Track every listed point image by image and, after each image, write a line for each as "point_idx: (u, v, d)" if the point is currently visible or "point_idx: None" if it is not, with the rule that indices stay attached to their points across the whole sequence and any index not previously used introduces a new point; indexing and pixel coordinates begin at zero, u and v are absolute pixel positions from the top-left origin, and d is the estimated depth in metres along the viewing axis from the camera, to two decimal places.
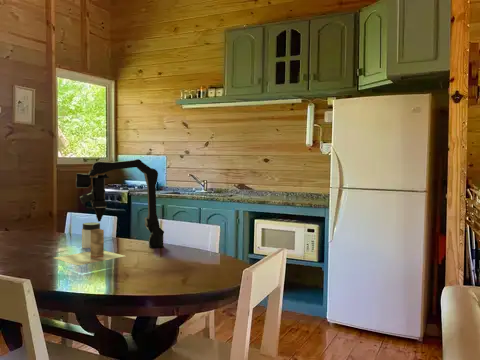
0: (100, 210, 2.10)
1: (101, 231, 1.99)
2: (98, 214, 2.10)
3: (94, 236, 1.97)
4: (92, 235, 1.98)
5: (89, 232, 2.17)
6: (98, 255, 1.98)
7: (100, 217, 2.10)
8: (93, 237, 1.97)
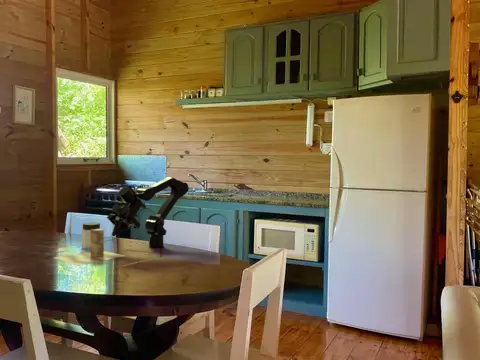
0: (122, 227, 2.08)
1: (101, 231, 1.99)
2: (118, 229, 2.06)
3: (94, 236, 1.97)
4: (92, 235, 1.98)
5: (89, 232, 2.17)
6: (98, 255, 1.98)
7: (117, 233, 2.06)
8: (93, 237, 1.97)
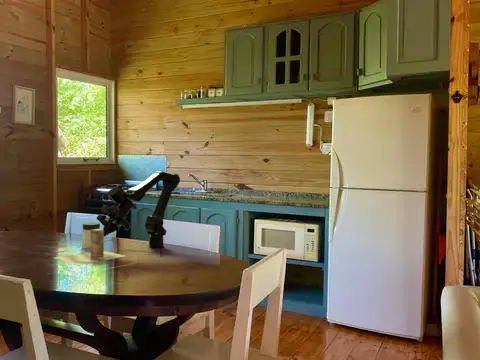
0: (111, 228, 2.03)
1: (101, 231, 1.99)
2: (107, 230, 2.02)
3: (94, 236, 1.97)
4: (92, 235, 1.98)
5: (89, 232, 2.17)
6: (98, 255, 1.98)
7: (106, 234, 2.02)
8: (93, 237, 1.97)
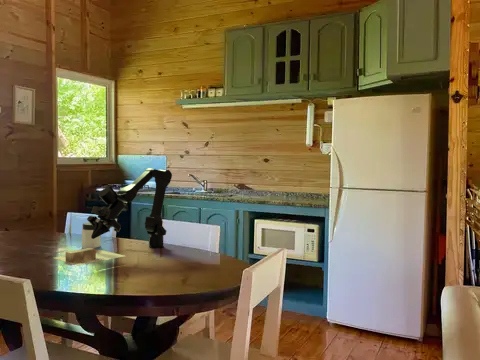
0: (102, 229, 1.99)
1: (72, 255, 1.88)
2: (98, 231, 1.98)
3: None
4: None
5: (89, 232, 2.17)
6: (93, 255, 1.96)
7: (96, 235, 1.98)
8: None
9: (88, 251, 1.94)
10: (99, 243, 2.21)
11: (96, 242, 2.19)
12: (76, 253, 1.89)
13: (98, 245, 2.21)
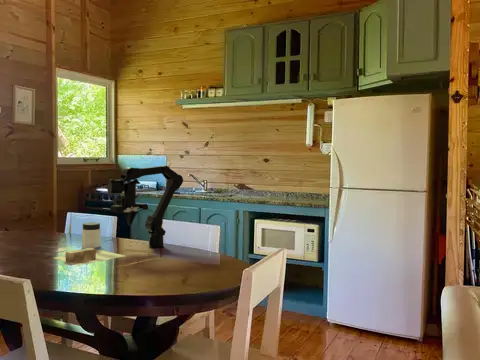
0: (127, 214, 2.16)
1: (72, 255, 1.88)
2: (126, 218, 2.16)
3: None
4: None
5: (89, 232, 2.17)
6: (93, 255, 1.96)
7: (128, 221, 2.16)
8: None
9: (88, 251, 1.94)
10: (99, 243, 2.21)
11: (96, 242, 2.19)
12: (76, 253, 1.89)
13: (98, 245, 2.21)
